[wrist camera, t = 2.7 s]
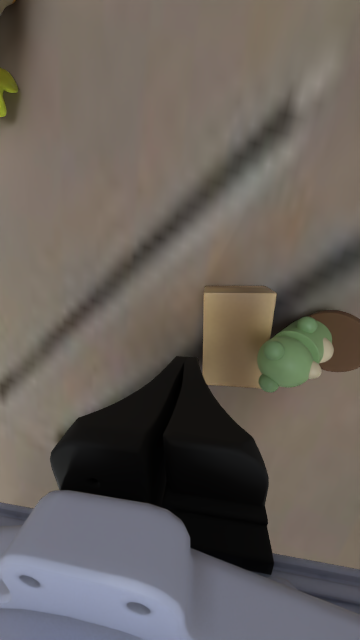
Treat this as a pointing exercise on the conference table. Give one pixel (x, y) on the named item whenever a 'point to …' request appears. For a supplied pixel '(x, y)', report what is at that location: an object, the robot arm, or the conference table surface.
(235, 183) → the conference table surface
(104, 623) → the robot arm
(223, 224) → the conference table surface
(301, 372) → the green figurine on base
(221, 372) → the beech block
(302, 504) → the conference table surface
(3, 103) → the bird rattle
